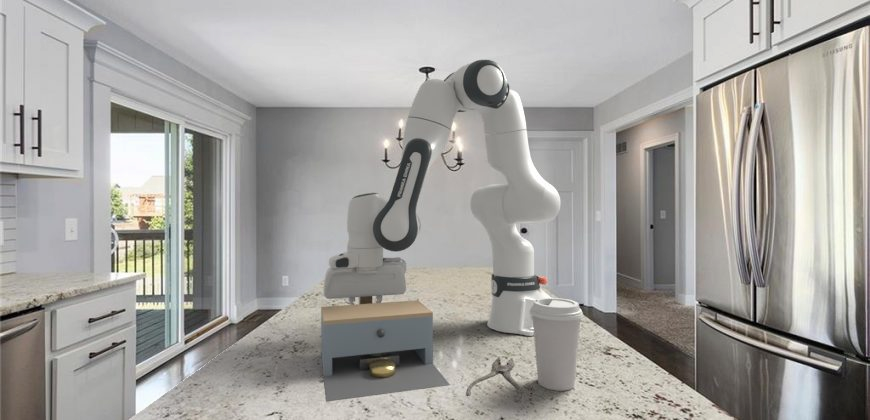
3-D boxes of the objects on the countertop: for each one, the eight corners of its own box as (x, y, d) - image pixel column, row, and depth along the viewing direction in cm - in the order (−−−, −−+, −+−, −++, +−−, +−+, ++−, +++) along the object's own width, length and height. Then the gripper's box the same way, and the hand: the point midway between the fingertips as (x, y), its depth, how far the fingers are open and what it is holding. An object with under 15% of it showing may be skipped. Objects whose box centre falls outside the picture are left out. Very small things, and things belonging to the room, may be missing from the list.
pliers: (466, 397, 72) (467, 356, 92) (466, 402, 72) (467, 360, 92) (524, 399, 71) (512, 357, 91) (524, 404, 71) (512, 361, 91)
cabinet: (418, 346, 100) (418, 300, 100) (434, 365, 88) (434, 313, 88) (321, 355, 94) (321, 306, 93) (323, 378, 81) (323, 322, 81)
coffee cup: (546, 369, 86) (546, 294, 85) (592, 383, 79) (592, 302, 79) (519, 383, 79) (519, 302, 79) (567, 399, 72) (567, 311, 72)
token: (394, 367, 86) (394, 359, 86) (396, 377, 81) (396, 369, 81) (369, 369, 86) (369, 361, 86) (369, 379, 81) (369, 370, 81)
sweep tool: (380, 333, 109) (380, 284, 109) (399, 365, 87) (399, 303, 87) (348, 336, 106) (348, 286, 106) (359, 369, 85) (359, 306, 85)
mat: (416, 343, 102) (416, 343, 102) (450, 385, 78) (450, 384, 78) (321, 352, 95) (321, 352, 95) (326, 401, 72) (326, 401, 72)
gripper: (403, 255, 112) (403, 308, 112) (323, 258, 106) (323, 314, 106) (409, 258, 106) (409, 314, 106) (324, 261, 100) (324, 320, 100)
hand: (365, 314), depth 106 cm, fingers closed on sweep tool, 3 cm apart
